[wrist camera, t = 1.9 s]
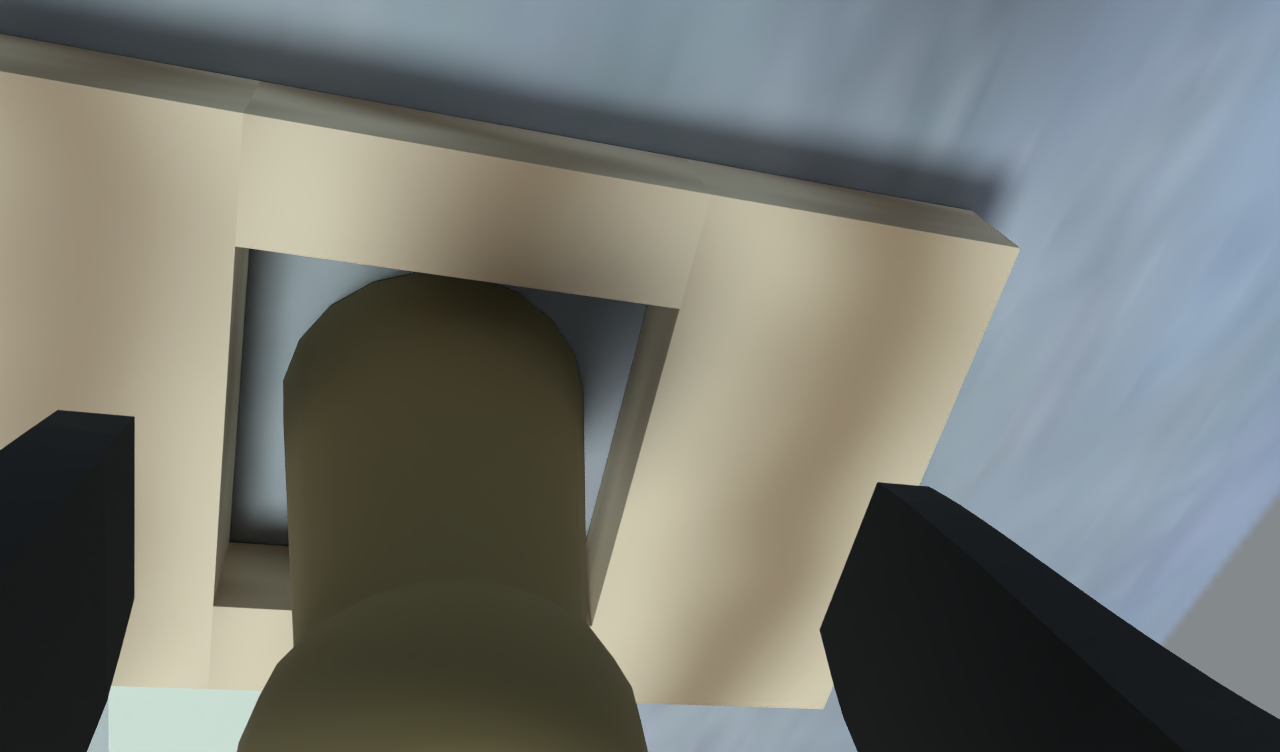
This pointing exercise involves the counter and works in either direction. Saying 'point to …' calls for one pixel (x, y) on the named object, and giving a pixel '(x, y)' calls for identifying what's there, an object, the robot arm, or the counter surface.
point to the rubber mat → (178, 719)
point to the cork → (438, 535)
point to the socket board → (499, 253)
